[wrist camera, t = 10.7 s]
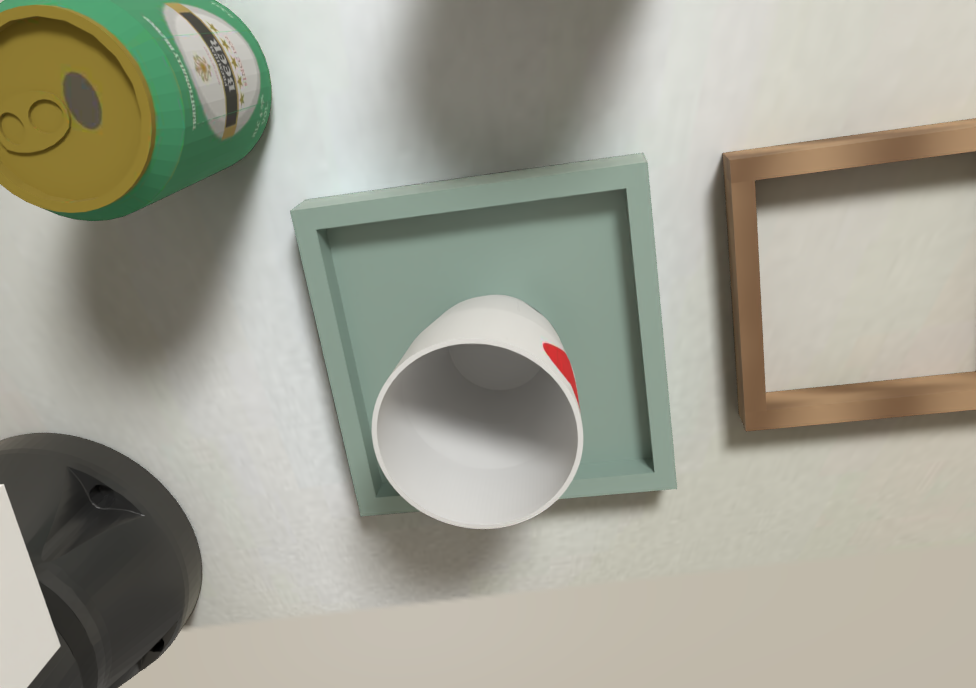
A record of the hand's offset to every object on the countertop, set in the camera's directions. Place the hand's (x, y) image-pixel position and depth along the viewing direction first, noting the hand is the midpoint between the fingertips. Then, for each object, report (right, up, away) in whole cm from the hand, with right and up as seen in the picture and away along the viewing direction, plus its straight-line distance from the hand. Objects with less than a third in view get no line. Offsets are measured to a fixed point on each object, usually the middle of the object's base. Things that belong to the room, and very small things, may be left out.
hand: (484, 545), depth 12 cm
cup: (0, +3, +32) cm, 32 cm away
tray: (0, +3, +33) cm, 33 cm away
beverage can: (-14, +15, +30) cm, 36 cm away
